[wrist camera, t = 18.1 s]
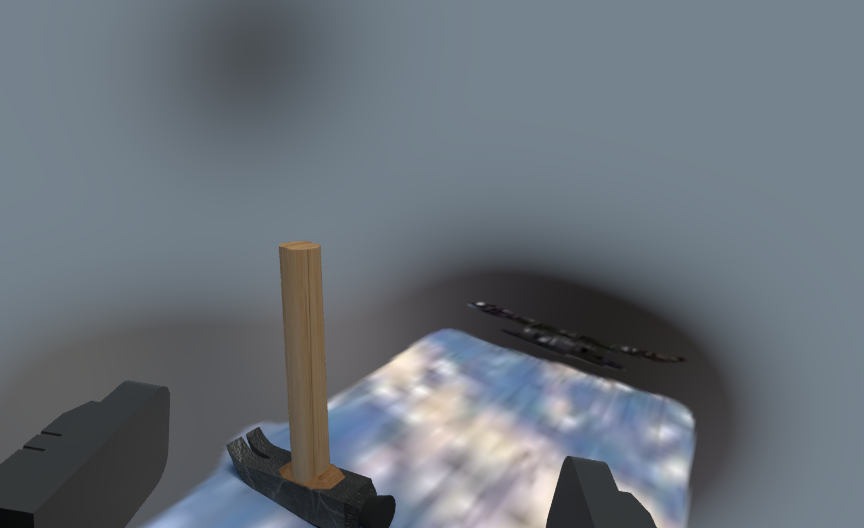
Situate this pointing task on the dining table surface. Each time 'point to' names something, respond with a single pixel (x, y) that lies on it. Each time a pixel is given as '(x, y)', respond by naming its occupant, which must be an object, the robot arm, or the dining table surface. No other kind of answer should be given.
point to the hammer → (307, 418)
